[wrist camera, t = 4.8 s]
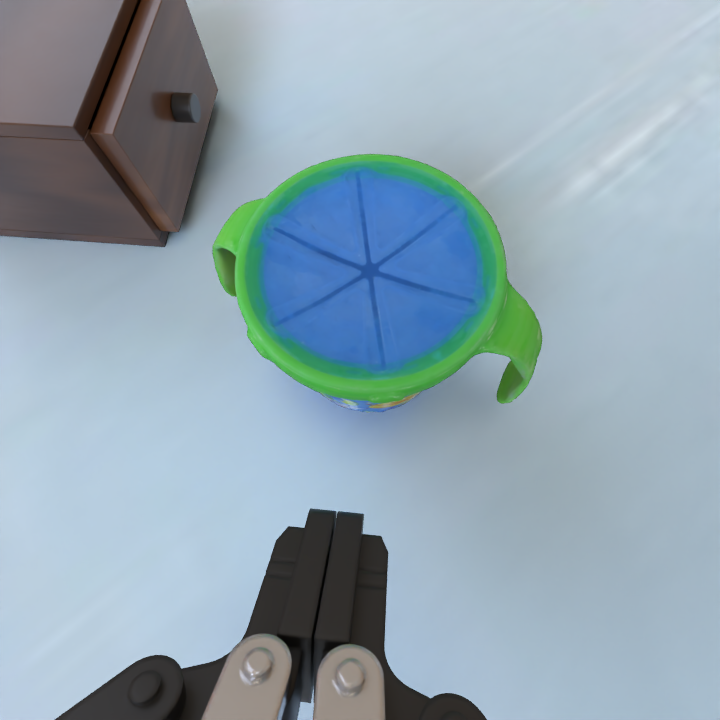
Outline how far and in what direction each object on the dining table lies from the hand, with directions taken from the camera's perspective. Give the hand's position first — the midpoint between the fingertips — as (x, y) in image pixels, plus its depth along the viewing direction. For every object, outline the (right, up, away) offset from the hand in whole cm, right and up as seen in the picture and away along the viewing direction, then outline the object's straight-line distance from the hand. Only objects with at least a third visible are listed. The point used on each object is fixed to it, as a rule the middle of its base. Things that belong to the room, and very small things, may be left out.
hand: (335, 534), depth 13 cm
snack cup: (+1, +5, +14) cm, 15 cm away
